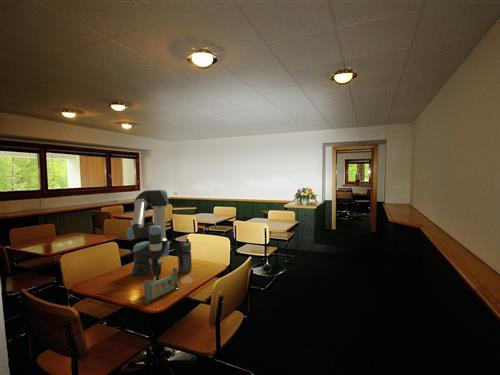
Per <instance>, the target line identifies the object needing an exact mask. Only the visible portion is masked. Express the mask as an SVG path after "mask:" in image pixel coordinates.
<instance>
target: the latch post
mask: <svg viewBox="0 0 500 375" xmlns="http://www.w3.org/2000/svg"><path fill="white" fill-rule="evenodd" d="M142 283H143V284H144V303H145V304H149V303H151V302H152V300H151V287H150V284H151V283H152V280H151V279H146V280H143V282H142Z"/></svg>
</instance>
